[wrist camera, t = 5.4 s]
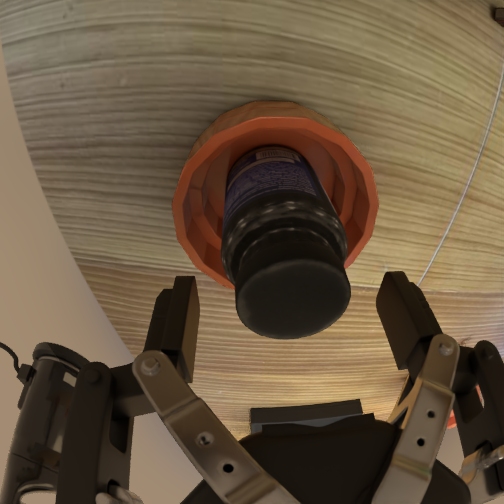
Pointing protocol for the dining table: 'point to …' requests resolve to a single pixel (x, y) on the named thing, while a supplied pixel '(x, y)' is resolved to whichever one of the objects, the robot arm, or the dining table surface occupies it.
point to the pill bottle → (283, 245)
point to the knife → (499, 15)
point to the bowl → (261, 134)
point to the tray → (305, 414)
